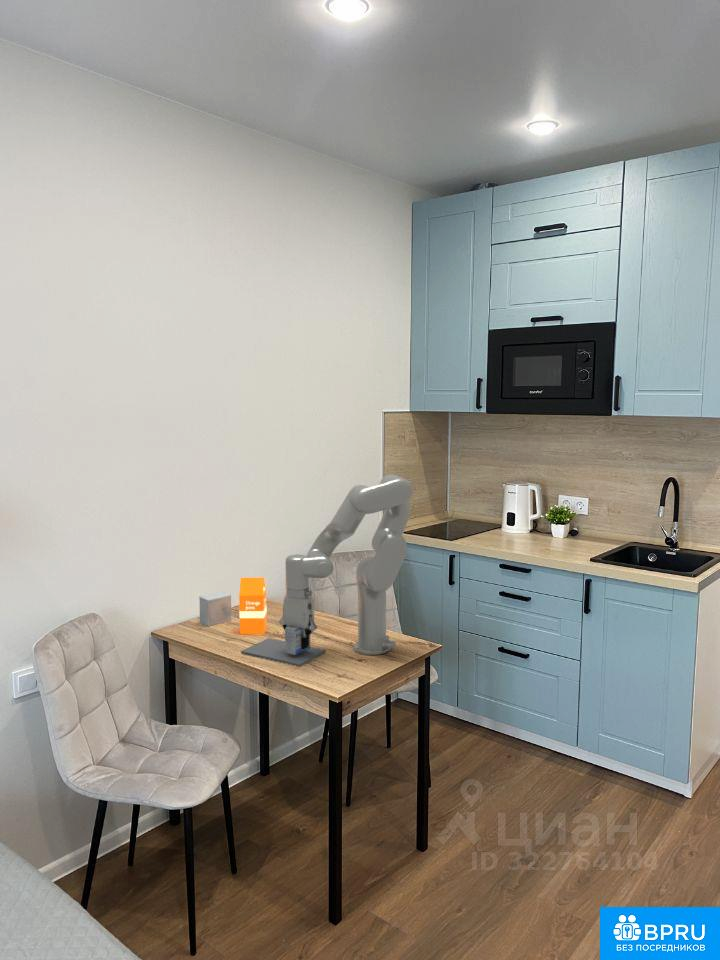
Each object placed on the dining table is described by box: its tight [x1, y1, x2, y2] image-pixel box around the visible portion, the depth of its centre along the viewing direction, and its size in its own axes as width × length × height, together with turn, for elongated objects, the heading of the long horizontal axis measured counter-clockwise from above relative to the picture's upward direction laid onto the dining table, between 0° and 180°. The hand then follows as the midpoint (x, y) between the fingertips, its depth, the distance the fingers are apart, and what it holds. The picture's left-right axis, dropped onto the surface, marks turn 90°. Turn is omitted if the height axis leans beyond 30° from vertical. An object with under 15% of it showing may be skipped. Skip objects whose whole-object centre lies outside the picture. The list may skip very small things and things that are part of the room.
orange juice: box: [238, 577, 268, 635], centre depth 263 cm, size 8×9×20 cm
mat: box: [240, 637, 326, 667], centre depth 241 cm, size 24×15×1 cm, turn 60°
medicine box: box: [284, 626, 311, 655], centre depth 238 cm, size 8×4×9 cm, turn 143°
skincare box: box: [198, 591, 232, 627], centre depth 274 cm, size 10×6×10 cm, turn 133°
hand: (298, 645), depth 238 cm, fingers closed on medicine box, 4 cm apart
